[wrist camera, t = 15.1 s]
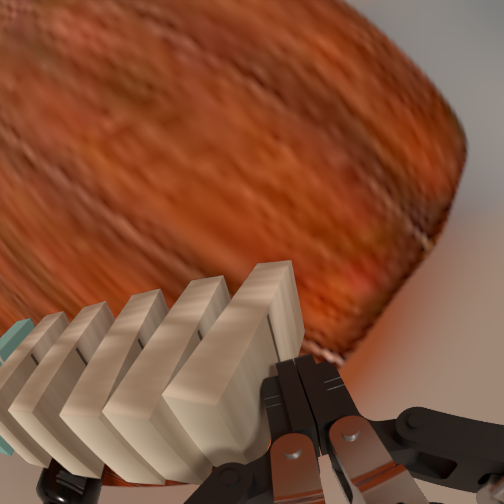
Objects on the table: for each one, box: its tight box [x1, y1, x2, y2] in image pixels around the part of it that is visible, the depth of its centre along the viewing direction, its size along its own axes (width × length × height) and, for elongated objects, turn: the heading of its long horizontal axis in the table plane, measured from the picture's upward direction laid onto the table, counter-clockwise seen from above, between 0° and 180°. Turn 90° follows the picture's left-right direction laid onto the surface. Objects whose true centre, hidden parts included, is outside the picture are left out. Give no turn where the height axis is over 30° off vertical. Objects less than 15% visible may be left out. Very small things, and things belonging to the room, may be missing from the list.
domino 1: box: [0, 318, 35, 456], centre depth 12 cm, size 2×5×10 cm, turn 14°
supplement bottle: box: [36, 457, 107, 504], centre depth 16 cm, size 7×7×12 cm
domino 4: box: [59, 289, 169, 485], centre depth 12 cm, size 2×5×10 cm, turn 14°
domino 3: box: [8, 301, 115, 479], centre depth 12 cm, size 2×5×10 cm, turn 15°
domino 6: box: [162, 260, 305, 467], centre depth 13 cm, size 2×5×10 cm, turn 12°
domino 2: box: [0, 311, 70, 468], centre depth 12 cm, size 2×5×10 cm, turn 14°
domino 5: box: [102, 276, 231, 485], centre depth 12 cm, size 2×5×10 cm, turn 13°
